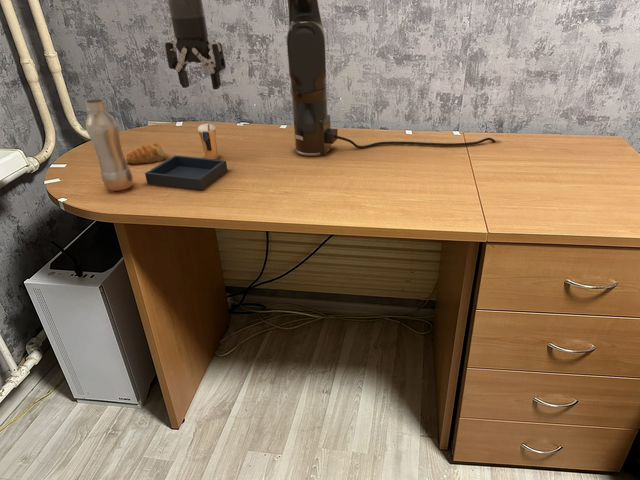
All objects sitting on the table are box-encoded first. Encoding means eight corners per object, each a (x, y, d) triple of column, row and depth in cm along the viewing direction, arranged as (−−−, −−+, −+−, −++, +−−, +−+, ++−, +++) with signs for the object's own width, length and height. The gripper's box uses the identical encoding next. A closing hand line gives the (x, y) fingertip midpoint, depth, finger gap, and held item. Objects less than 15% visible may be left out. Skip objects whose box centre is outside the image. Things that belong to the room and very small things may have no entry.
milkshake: (206, 163, 127) (199, 125, 121) (201, 157, 131) (194, 120, 125) (223, 160, 129) (217, 123, 123) (218, 154, 133) (212, 117, 127)
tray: (227, 171, 122) (226, 160, 121) (201, 190, 112) (199, 179, 111) (177, 165, 126) (175, 155, 124) (147, 184, 115) (144, 173, 114)
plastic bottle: (117, 196, 110) (90, 106, 99) (99, 189, 113) (70, 102, 102) (141, 186, 114) (118, 99, 103) (123, 180, 117) (98, 95, 106)
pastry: (132, 167, 124) (128, 153, 122) (124, 160, 129) (120, 146, 127) (167, 159, 129) (164, 145, 127) (159, 152, 134) (155, 139, 131)
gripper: (223, 13, 113) (234, 86, 122) (169, 12, 116) (184, 83, 125) (206, 17, 107) (219, 93, 116) (150, 16, 110) (167, 90, 119)
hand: (201, 88), depth 120 cm, fingers open, 8 cm apart
